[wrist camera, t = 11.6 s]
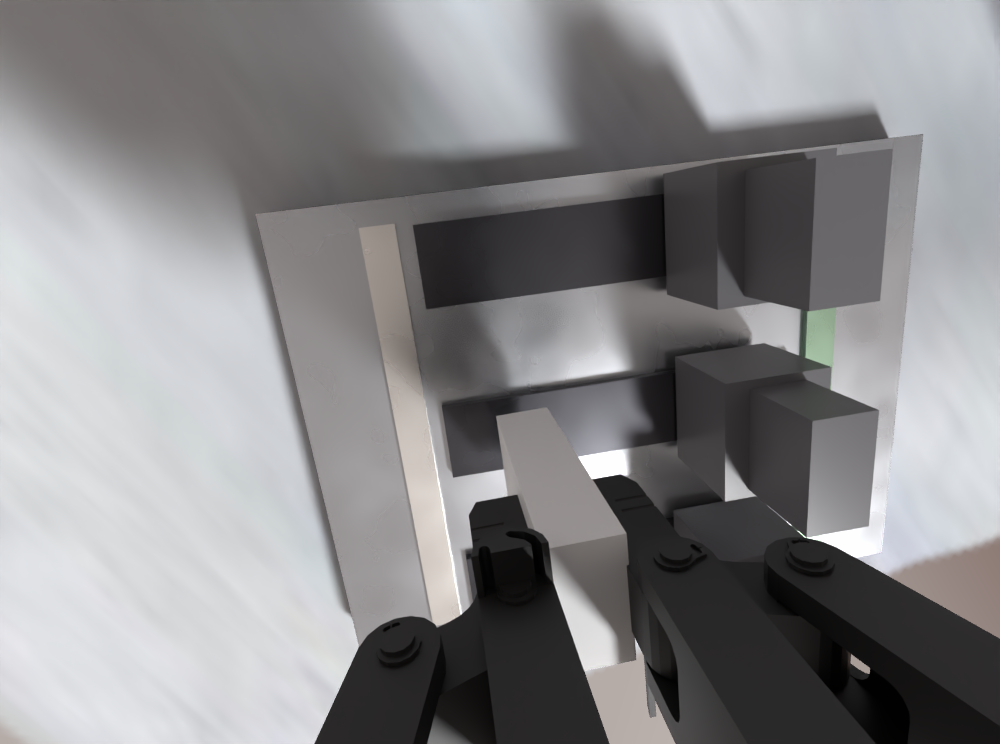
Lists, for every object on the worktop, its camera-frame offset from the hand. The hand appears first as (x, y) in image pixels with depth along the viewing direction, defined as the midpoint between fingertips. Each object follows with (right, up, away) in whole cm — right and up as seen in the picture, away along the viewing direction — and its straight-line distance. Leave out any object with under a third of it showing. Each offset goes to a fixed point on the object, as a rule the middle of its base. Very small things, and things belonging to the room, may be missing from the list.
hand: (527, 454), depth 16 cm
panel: (+3, +1, +3) cm, 5 cm away
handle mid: (+6, +2, +2) cm, 7 cm away
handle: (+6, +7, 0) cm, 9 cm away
